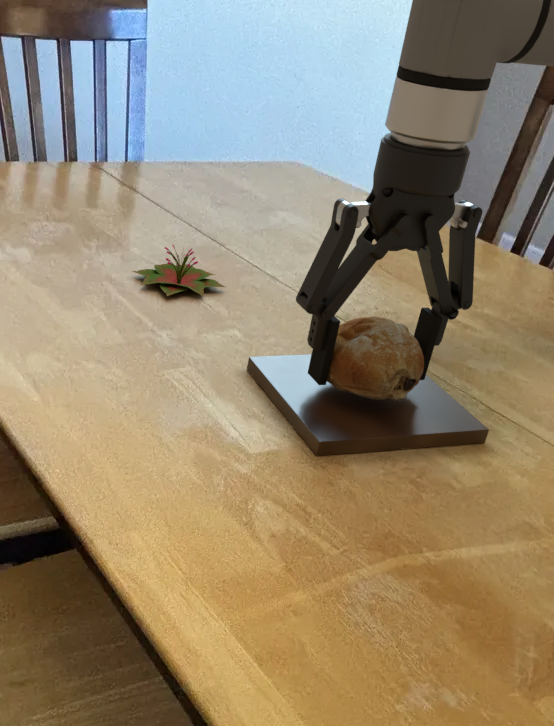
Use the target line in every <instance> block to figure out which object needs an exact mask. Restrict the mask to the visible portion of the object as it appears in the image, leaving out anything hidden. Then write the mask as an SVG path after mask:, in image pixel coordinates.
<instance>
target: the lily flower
mask: <svg viewBox="0 0 554 726" xmlns="http://www.w3.org/2000/svg"><path fill="white" fill-rule="evenodd" d="M172 247H173V249H174V251H175V255H176V256H175V255H174V254H173V253H172V251H171V250H170V249H169V248H168V247H167V246H164V249H165V250H166V254H168V255H170V256H171V257H172V259H173V261H174V262H175V264H174V263H173V262H172V261H171V260H170V259H169V258H167V257H166V258H165V260H166V261H167V263H161V264H154V265H153V267H154V269H153V268H152V269H151V268H144V269H139V270H131V272H132V273H135V274H138V275H139V276H143V277H144V279H143V282H142V283H140V286H144V285H145V286H146V285H151V284H159V287H160V289H161V290H162V291H163V292H164V293H165V294H166V297H169V296H172V295H175V294H177V293H180V292H184V291H187V290H188V288H189V289H190V290H192V291H193V292H195V293H197V294H199V295H200V296H202V297H204V296H205V295H204V294H205V293H204V292H205V290H204V289H205V288H226V286H225V285H223V284H221V283H219V281H217V280H215V279H211V278H208V277H211V276H216V274H215V273H212V272H209V271H206V270H204V269H201V268H196V267H195V265H197V264H198V263H199V261H194V260H195V259H196V256H194V257H192V258H191V260H190V261H189V262H188V260H189V257H190V256H192V255H193V254H194V251H193V248H190V249H189V250H188V252H187V253H186V254H185V255H184V253H182V255H181V256H182V259H181V260H180V256H179V254H178V253H177V250H176V247H175V245H174V244H172ZM184 251H185V248H183V249H182V252H184ZM193 261H194V262H193ZM187 262H188V263H187ZM192 262H193V263H192ZM191 263H192V264H191Z"/></svg>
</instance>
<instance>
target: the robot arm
mask: <svg viewBox="0 0 554 726" xmlns="http://www.w3.org/2000/svg"><path fill="white" fill-rule="evenodd" d="M407 20H408V21H407V25H406V28H405V32H404V33H405V34H404V39H403V42H402V46H401V52H400V56H399V61H398V66H397V71H396V75H395V80H394V83H393V88H392V93H391V97H390V100H389V105H388V109H387V110H388V111H387V116H386V119H385V123H384V126H385V127H386V129H387V130H388V131H389V132H388V133H386V134H384V136H383V137H381V139H380V143H379V148H378V152H377V156H376V161H375V165H374V169H373V177H372V179H373V181H372V189H371V190H370V193H369V194H368V196H367V197H366V199H365V200H364V201H348V200H347V199H345V198H342V197H340V198H338V199H337V200H336V201H335V202H334V204H333V209H332V215H331V221H330V225H329V228H328V230H327V232H326V234H325V236H324V238H323V240H322V242H321V244H320V246H319V248H318V250H317V252H316V254H315V257H314V259H313V261H312V263H311V265H310V267H309V269H308V271H307V273H306V276H305V277H304V280H303V282H302V284H301V286H300V288H299V290H298V292H297V294H296V296H295V302H296V303H297V304H298V305H299V306H300V307H301V309H303V310H304V311H305V312H306V314H309V315H311V320H310V324H309V330H308V334H307V339H306V340H307V345H308V346H309V347H310V348H311V349H312V351H311V354H312V355H311V359H310V364H309V369H308V374H309V375H310V376H311V377H312V378H313V379H314V380H315V381H316V383H317V384H318V385H326V382H327V378H328V374H329V369H330V365H331V361H332V356H333V352H334V347H335V343H336V339H337V334H338V330H339V325H341V320H340V319H339V318H338V317H336V316H335V315H336V314H337V313H338V312H339V310H340V309H341V308H342V307H343V305H344V304H345V302H347V300H348V299H349V297H350V296H351V295H352V294H353V292H354V291H355V289H356V288H357V287H358V286H359V285H360V283H361V282H362V280H363V279H364V278H365V277H366V276H367V274H368V273H369V272H370V271H371V269H372V267H374V265H375V264H376V262H377V261H380V260H382V259H383V258H385V256H386V255H387V253H388V252H399V251H402V250H407V251H411V252H416V254H417V258H418V262H419V266H420V269H421V273H422V277H423V281H424V284H425V290H426V293H427V297H428V300H429V306H431V308H430V307H421V309H420V312H419V315H418V319H417V323H416V326H415V330H414V334H413V336H414V337H415V338H416V340H417V341H418V342H419V345H420V347H421V349H422V352H423V356H424V370H423V373H422V376H421V378H420V380H424V379H425V376H426V375H427V373H428V370H429V365H430V363H431V359H432V355H433V353H434V350H435V347H436V346H440V344H441V343H442V341H443V338H444V334H445V331H446V328H447V324H448V321H449V320H450V321H453V320H455V319H456V318H457V317H458V316H459V312H460V311H459V310H461V309H462V310H463V311H467V310H468V309H470V308H471V307H472V306H473V303H474V302H473V301H474V300H473V299H474V282H475V281H474V280H475V279H474V278H475V276H474V275H475V256H476V255H475V254H476V252H475V251H476V235H477V234H476V233H477V230H478V227H479V225H480V221H481V220H482V216H483V209H482V208H481V207H480V206H478V205H476V204H474V203H472V202H471V201H469V200H467V199H460V200H459V201H458V202H455V194H456V193H457V192H458V191H459V190H460V189H461V187H462V183H463V179H464V175H465V172H466V169H467V165H468V162H469V160H470V159H469V158H470V155H471V151H470V150H469V146H467V143H470V142H471V141H473V140H474V139H475V138H476V136H477V132H478V128H479V125H480V121H481V117H482V114H483V110H484V106H485V104H486V103H485V102H486V99H487V95H488V91H489V88H490V84H491V81H492V77H493V75H494V73H495V68H496V66H497V63H498V64H521V65H522V64H523V65H530V66H531V65H533V66H544V67H554V0H412V1H411V6H410V11H409V16H408V19H407ZM364 219H366V223H367V225H366V226H365V227H364V229H363V230H362V231H361V233H360V234H359V236H357V238H356V240H355V245H354V247H353V248H352V250H351V251H350V252H349V253H348V252H347V251H348V250H349V247H350V245H351V244H352V242H353V239H354V236H355V233H356V230H357V229H360V228H361V227H362V221H363V220H364ZM447 223H449V234H448V235H449V237H448V272H447V271H446V265H445V262H444V261H445V260H444V257H443V253H444V247H443V242H442V239H441V234H440V231H441V230H442V229H443V228H444V227H445V226H446V224H447ZM374 241H375V242H376V243H373V242H374ZM346 253H348V255H347V256H346V257H345V255H346ZM447 273H448V274H447Z"/></svg>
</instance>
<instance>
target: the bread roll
mask: <svg viewBox="0 0 554 726" xmlns="http://www.w3.org/2000/svg"><path fill="white" fill-rule="evenodd" d="M423 370H424V356H423V352H422V349H421V347H420V345H419V342H418V341H417V340H416V338H415V337H414V334H412V333H411V332H410V330H409V327H407V325H406V324H403V323H398V322H395V321H393V320H391V319H388V318H385V317H382V316H367V317H366V316H365V317H358V318H353V319H350V320H348V321H345V322H344V323H340V325H339V330H338V334H337V339H336V343H335V347H334V352H333V356H332V361H331V365H330V369H329V374H328V378H327V382H329V383H330V384H331V385H332V386H334V387H335V388H336V389H337V390H339V391H345V392H350V393H353V394H356V395H358V396H361V397H365V398H370V399H376V400H384V399H392V400H395V401H397V400H399V399H403V398H404V397H406V396H407V393H408V392H410V391H411V390H412V389H413V388H414V387H415V386H416V385H417V384H418V382H419V380H420V378H421V376H422V373H423Z"/></svg>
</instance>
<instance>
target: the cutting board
mask: <svg viewBox="0 0 554 726" xmlns="http://www.w3.org/2000/svg"><path fill="white" fill-rule="evenodd" d="M311 355H312V353H308V354H285V355H284V354H283V355H282V354H281V355H263V356H261V355H260V356H259V355H258V356H248V359H247V360H248V361H247V365H246V370H247V372H248V373H249V374H250V375H251V377H252V378H253V380H255V381H256V383H257V384H258V385H259V387H260V388H261V389H262V390H263V391H264V393H265V394H266V395H267V397H268V398H269V399H270V400H271V401H272V403H273V405H275V407H276V408H277V409H278V411H279V412H281V414H282V415H283V416H284V417H285V419H286V420H287V421H288V423H289V424H290V425H291V426H292V428H293V429H294V430H295V431H296V432H297V434H298V435H299V436H300V438H301V439H302V441H304V442H305V444H306V445H307V446H308V447H309V449H310V450H311V451H312V453H313V454H314V455H315V456H317V457H319V456H320V457H321V456H334V455H344V454H359V453H372V452H373V453H374V452H384V451H385V452H386V451H396V450H399V451H400V450H409V449H422V448H435V447H437V448H438V447H449V446H462V445H475V444H476V445H477V444H485V443H486V440H487V437H488V436H489V435H488V434H489V433H490V429H489V428H488V427H487V426H486V425H485V424H484V423H482V421H480V420H479V419H478V418H477V417H475V416H474V415H473V414H472V413H471V412H470V411H468V409H466V408H465V407H464V406H463V405H462V404H461V403H459V402H458V401H457V400H456V399H455V398H453V396H452V395H450V394H449V393H448V392H447V391H446V390H444V389H443V388H442V387H441V386H440V385H439V384H438V383H436V382H435V381H434V380H433V379H432V378H431V377H430V376H428V375H427V374H426V376H425V379H424V380H419V382H418V384H417V385H416V386H415V387H414V388H413V389H412V390H411V391H410V392H408V393H407V396H406V397H404V398H403V399H399V400H397V401H395V400H392V399H384V400H376V399H370V398H365V397H361V396H358V395H356V394H353V393H350V392H345V391H339V390H337V389H336V388H335V387H334V386H332V385H331V384H330V383H329V382H326V385H318V384H317V383H316V381H315V380H314V379H313V378H312V377H311V376H310V375H309V374H308V369H309V364H310V359H311Z"/></svg>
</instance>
